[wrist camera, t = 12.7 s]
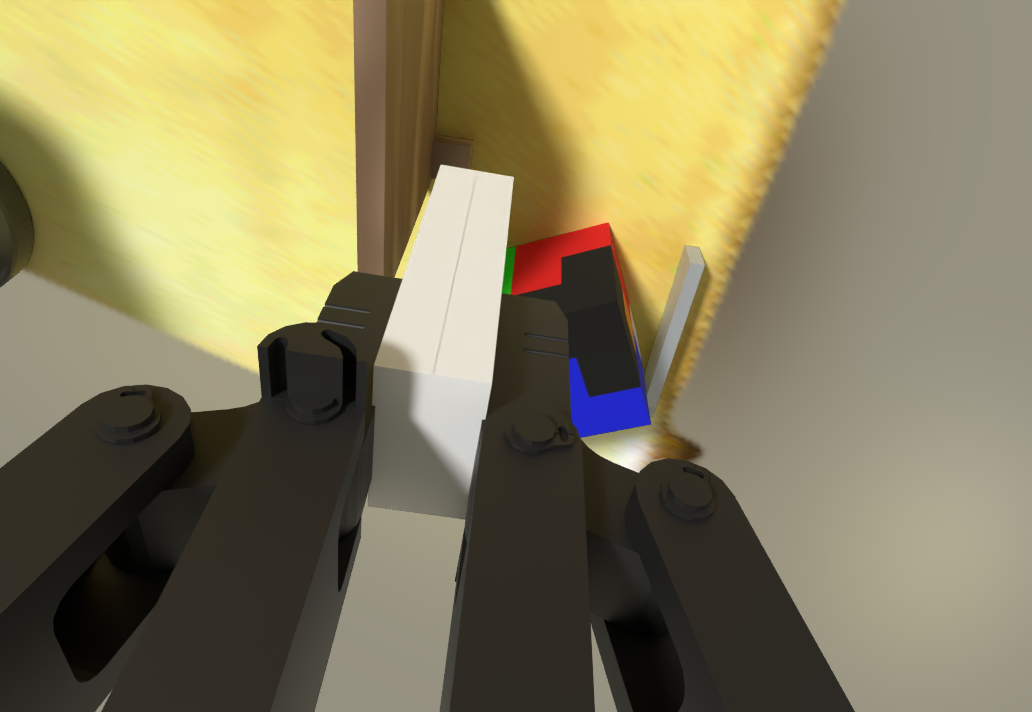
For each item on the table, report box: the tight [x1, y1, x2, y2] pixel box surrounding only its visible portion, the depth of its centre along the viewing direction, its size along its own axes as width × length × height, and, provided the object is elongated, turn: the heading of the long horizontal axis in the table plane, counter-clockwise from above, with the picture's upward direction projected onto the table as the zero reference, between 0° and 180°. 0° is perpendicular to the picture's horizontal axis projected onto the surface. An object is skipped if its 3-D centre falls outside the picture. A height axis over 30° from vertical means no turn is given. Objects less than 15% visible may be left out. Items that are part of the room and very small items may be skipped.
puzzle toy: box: [502, 223, 651, 438], centre depth 47 cm, size 10×10×10 cm
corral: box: [644, 245, 705, 417], centre depth 50 cm, size 18×14×2 cm
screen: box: [353, 0, 473, 278], centre depth 34 cm, size 6×15×16 cm, turn 173°
